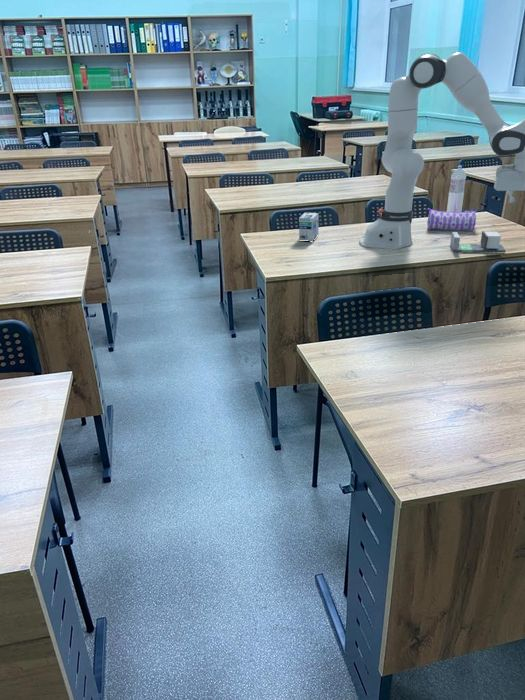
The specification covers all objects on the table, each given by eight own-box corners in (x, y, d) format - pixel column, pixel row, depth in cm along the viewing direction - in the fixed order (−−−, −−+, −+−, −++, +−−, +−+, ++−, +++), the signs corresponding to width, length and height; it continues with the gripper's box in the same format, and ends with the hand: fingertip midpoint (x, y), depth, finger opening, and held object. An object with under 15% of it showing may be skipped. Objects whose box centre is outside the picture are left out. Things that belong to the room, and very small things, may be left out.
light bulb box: (313, 242, 231) (313, 218, 226) (298, 241, 233) (298, 217, 228) (318, 236, 240) (319, 212, 235) (304, 235, 242) (304, 212, 237)
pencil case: (474, 227, 243) (477, 207, 239) (477, 232, 235) (480, 211, 231) (425, 226, 248) (427, 206, 243) (426, 232, 240) (428, 211, 235)
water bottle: (461, 220, 254) (468, 166, 242) (446, 220, 255) (453, 167, 244) (459, 217, 260) (466, 164, 248) (445, 217, 261) (451, 164, 250)
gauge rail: (452, 252, 211) (454, 237, 208) (449, 246, 218) (451, 232, 215) (505, 253, 208) (508, 237, 205) (500, 247, 215) (503, 232, 212)
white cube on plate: (484, 249, 208) (486, 236, 206) (480, 243, 216) (482, 231, 213) (499, 249, 207) (501, 237, 205) (494, 243, 215) (496, 231, 212)
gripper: (499, 166, 194) (493, 204, 201) (558, 165, 191) (550, 204, 198) (495, 163, 200) (489, 200, 206) (553, 163, 197) (545, 200, 203)
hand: (519, 202), depth 202 cm, fingers open, 4 cm apart
